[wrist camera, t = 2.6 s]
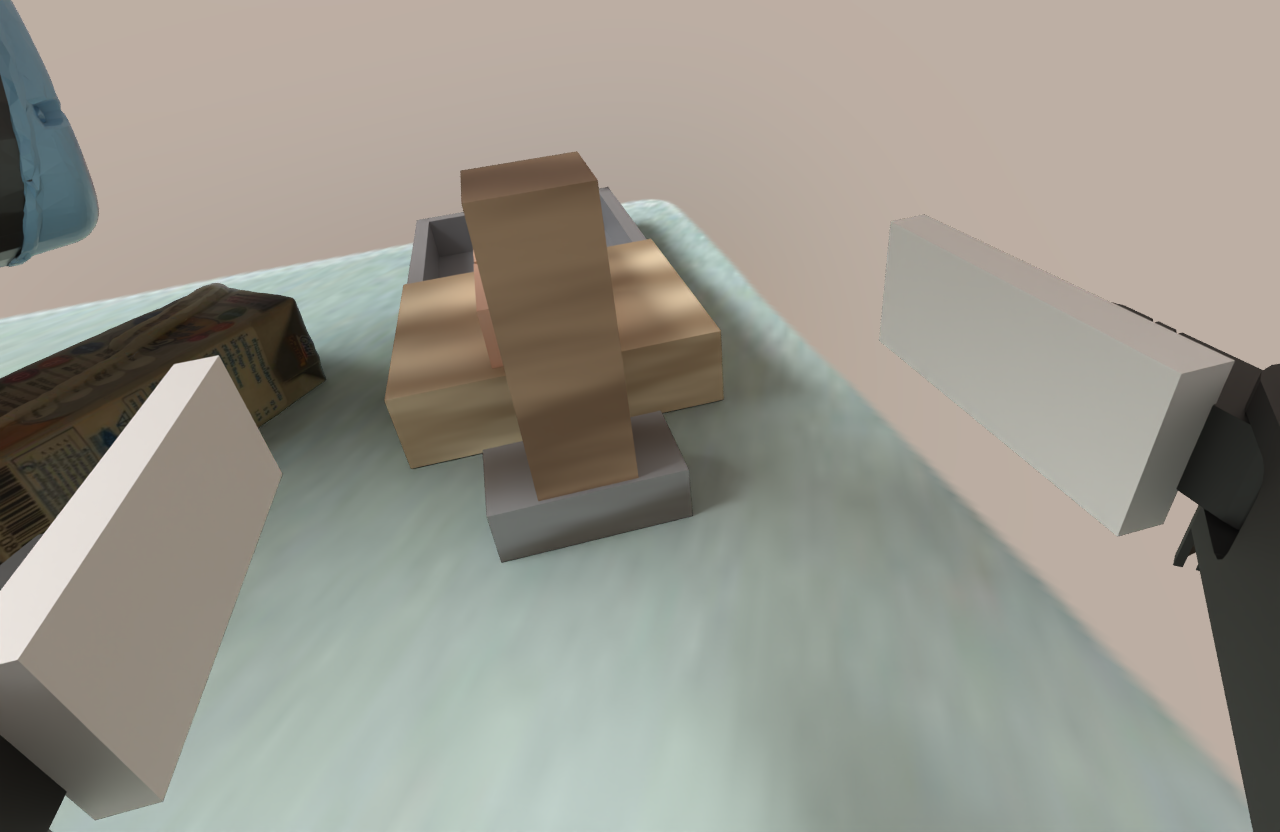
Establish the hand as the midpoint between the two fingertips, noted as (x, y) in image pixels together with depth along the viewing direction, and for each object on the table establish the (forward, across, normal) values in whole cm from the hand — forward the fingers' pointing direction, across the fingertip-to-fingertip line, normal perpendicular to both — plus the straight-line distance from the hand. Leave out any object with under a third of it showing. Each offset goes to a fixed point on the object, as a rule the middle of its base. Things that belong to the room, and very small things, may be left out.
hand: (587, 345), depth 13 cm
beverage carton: (+22, -22, -13) cm, 34 cm away
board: (+23, 0, -13) cm, 26 cm away
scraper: (+10, 0, -13) cm, 16 cm away
